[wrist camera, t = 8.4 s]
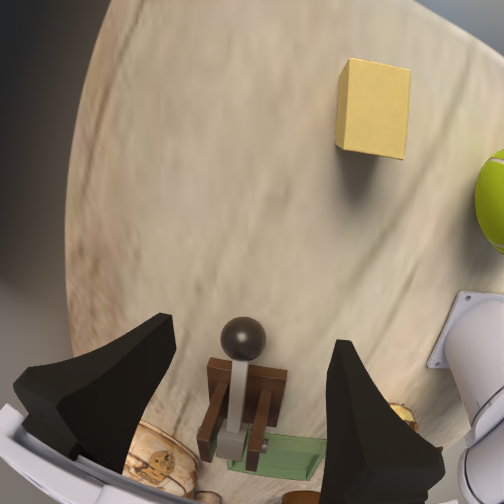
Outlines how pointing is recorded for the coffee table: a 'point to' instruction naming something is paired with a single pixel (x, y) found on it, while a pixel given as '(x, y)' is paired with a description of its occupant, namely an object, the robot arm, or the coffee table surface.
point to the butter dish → (285, 457)
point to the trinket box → (160, 461)
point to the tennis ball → (491, 200)
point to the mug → (301, 497)
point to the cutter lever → (238, 382)
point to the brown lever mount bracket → (255, 407)
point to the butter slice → (373, 108)
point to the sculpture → (207, 498)
